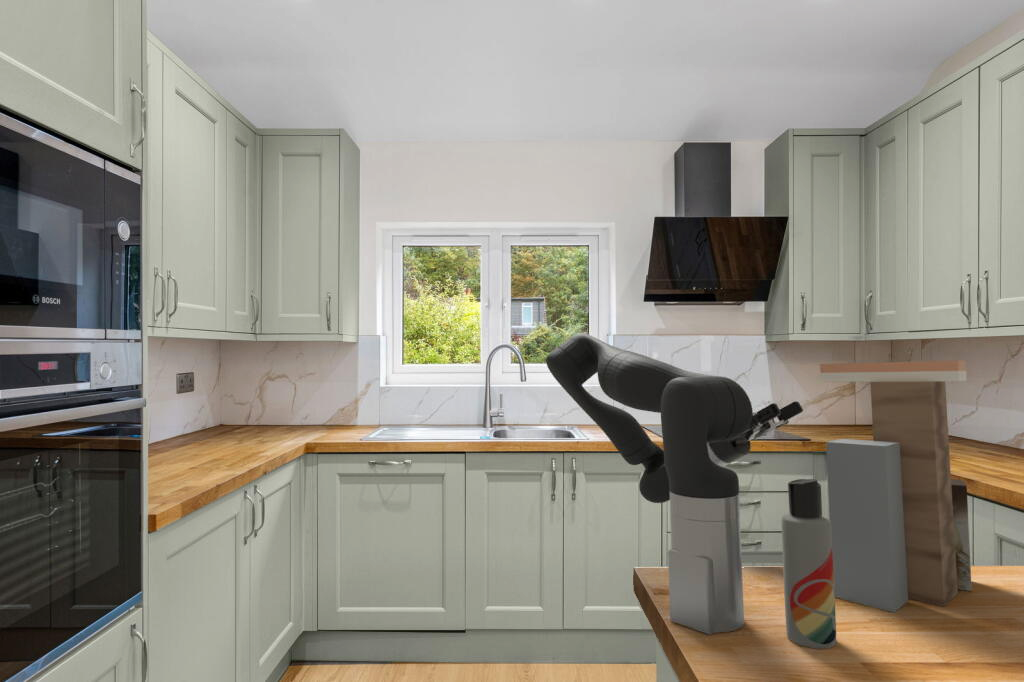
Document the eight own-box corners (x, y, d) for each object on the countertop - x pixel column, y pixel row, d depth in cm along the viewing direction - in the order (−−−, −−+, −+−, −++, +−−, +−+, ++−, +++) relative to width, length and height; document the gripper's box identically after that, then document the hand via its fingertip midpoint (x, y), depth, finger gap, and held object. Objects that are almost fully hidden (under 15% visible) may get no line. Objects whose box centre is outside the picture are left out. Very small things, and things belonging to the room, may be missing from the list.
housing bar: (959, 381, 84) (957, 360, 85) (820, 381, 99) (820, 363, 99) (966, 380, 87) (965, 360, 87) (830, 381, 101) (830, 363, 102)
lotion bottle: (835, 654, 70) (827, 484, 71) (783, 643, 73) (776, 480, 74) (838, 635, 75) (830, 477, 76) (789, 626, 78) (782, 474, 79)
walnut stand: (944, 606, 84) (931, 381, 86) (881, 591, 90) (870, 381, 92) (957, 594, 88) (945, 380, 90) (896, 580, 94) (886, 381, 96)
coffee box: (901, 581, 94) (895, 480, 95) (900, 570, 99) (895, 474, 100) (973, 592, 89) (967, 484, 90) (968, 579, 94) (962, 478, 95)
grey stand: (893, 612, 82) (885, 446, 83) (833, 596, 88) (825, 441, 90) (908, 601, 86) (899, 442, 87) (849, 586, 92) (841, 438, 93)
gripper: (689, 431, 112) (758, 389, 102) (728, 426, 121) (796, 387, 111) (708, 468, 109) (781, 428, 99) (747, 460, 118) (818, 423, 108)
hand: (789, 406), depth 105 cm, fingers open, 8 cm apart
